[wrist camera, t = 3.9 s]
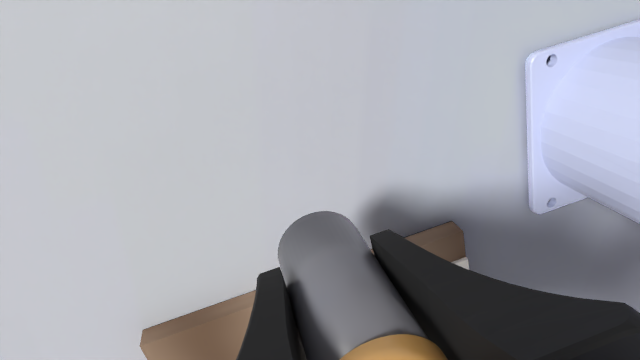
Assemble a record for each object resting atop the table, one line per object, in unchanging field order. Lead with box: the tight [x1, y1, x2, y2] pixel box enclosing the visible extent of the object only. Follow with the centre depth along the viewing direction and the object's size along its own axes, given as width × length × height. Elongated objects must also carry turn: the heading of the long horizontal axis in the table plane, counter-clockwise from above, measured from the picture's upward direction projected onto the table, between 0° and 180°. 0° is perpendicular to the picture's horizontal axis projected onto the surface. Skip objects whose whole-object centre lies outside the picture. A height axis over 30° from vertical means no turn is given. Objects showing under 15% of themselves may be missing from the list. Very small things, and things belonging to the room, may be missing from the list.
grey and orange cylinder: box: [278, 211, 448, 360], centre depth 11 cm, size 3×3×7 cm
